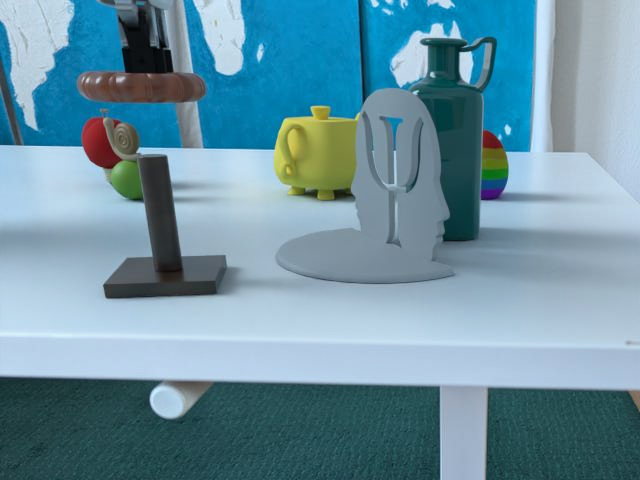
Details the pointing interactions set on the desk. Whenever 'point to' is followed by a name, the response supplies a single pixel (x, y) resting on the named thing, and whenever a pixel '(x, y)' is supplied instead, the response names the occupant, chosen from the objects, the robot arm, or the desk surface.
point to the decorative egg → (493, 167)
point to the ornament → (384, 203)
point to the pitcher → (456, 128)
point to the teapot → (317, 153)
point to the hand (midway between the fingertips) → (153, 96)
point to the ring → (141, 87)
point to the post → (163, 247)
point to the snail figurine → (124, 158)
